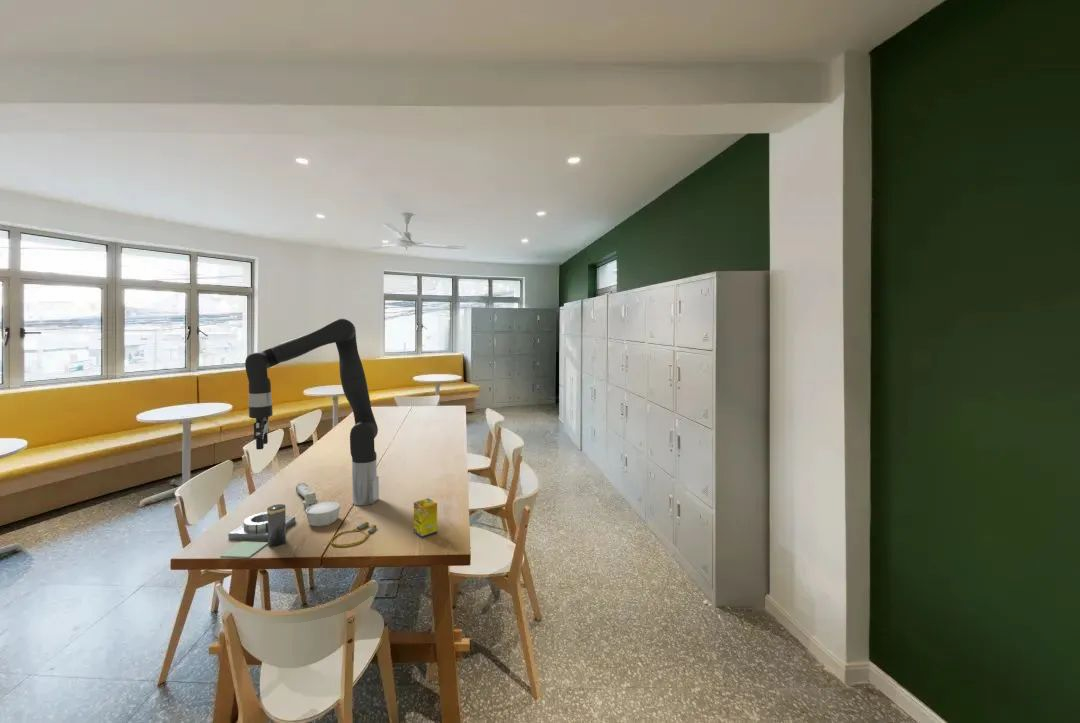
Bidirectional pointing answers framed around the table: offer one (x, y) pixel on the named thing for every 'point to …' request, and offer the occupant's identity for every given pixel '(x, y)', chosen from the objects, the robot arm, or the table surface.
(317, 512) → the ramekin
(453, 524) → the table surface
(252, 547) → the mat
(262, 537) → the chuck block
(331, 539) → the extension cord
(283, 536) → the dark grey cylinder
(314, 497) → the white stepped bar
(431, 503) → the supplement box
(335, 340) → the robot arm
